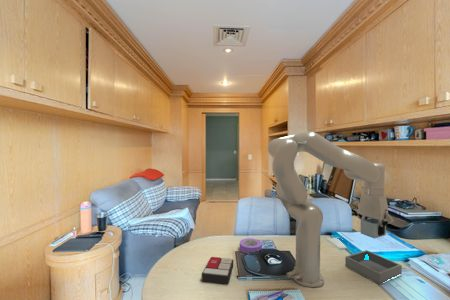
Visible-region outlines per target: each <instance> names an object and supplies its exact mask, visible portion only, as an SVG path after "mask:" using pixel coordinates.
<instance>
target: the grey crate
mask: <svg viewBox="0 0 450 300" xmlns="http://www.w3.org/2000/svg"><path fill="white" fill-rule="evenodd" d="M366 254H368V256H369V260H364V258H365V255H366ZM344 260H345V263H344V265H345V267H346V268H347V269H349V270H351V271H353V272H355V273H356V274H359V275H360V276H362V277H364V278H366V279H367V280H370V281H372V282H373V283H375V284H376V285H378V286H381V285H382V284H381V283H383V282H385V281H387V280H388V279H391V278H392V277H395V276H397V275H399V274H402V273H403V271H402V269H403V266H402V264H400V263H398V262H395V261H393V260H391V259H388V258H386V257H383V256H381V255H379V254H378V253H375V252H372V251H369V250H367V249H365V250H362V251H359V252H356V253H353V254H349V255H346V256H345V259H344ZM380 284H381V285H380ZM383 284H384V283H383Z"/></svg>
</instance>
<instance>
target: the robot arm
mask: <svg viewBox="0 0 450 300" xmlns="http://www.w3.org/2000/svg"><path fill="white" fill-rule="evenodd" d="M267 151H268V154H269V156H271V157H272V158H273V161H272V162H273V163H272V173H273V175H274V178H275V180H276V184H275V192H276V194H277V197H278V198H279V200H280V202H281V203H282V206H283V207H284V209H285V211H286V213H288V215H289V216H290V217H291V218H293V219H294V220H296V221H297V222H298V225H297V228H296V232H295V266H293V269H292V271H289V272H286V277H287V279H288V278H292V277H293V278H292V279H293V280H294V281H295V283H297V284H299V285H301V286H304V287H308V288H318V287H321V286H323V284H324V283H325V277H324V275H323V274H322V273H321V234H322V233H321V232H322V226H323V222H324V215H323V212H322V210H321V208H320V207H319V206H318V205H316V204H315V203H313V202H311V201H308V190H307V188H306V186H305V184H304V183H303V181H302V179H301V178H300V176H299V174H298V173H297V170H296V167H295V160H296V157H297V155H298V153H301V152H302V153H307V154H309V155H312V156H313V157H315V158H316V159H317V160H320V161H321V162H323V163H325V164H326V165H329V166H331V167H333V168H338V169H340V170H343V173H344V175H345V176H346V177H347V178H348V179H351V180H355V181H359V182H363V186H361V187H360V188H361V190H362V191H363V192H362V193H361V195H360V198H359V206H358V208H356V209H355V212H356V214H357V215H358V216H359V218H360V221H361V220H363V219H367V218H373V219H376V220H378V222H379V225H380V226H378V235H379V236H381V235H384V233H385V226H386V227H387V226H388V225H389V224H391V223H392V222H394V218H393V217H392V216H391V215H390V214H389V208H388V207H389V206H388V200H387V196H386V195H385V182H386V181H385V174H386V172H385V171H386V167H385V165H384V164H383V163H381V162H380V163H379V162H371V161H370V160H368V159H366V158H365V157H363V156H360V155H358V154H356V153H354V152H352V151H349V150H347V149H344V148H342V147H340V146H338V145H337V144H335V143H333V142H331V141H330V140H328V139H327V138H325V137H323V136H322V135H320V134H318V133H317V132H314V131H303V132H298V133H293V134H291V135H286V136H282V137H278V138H277V137H276V138H274V139H272V140H271V141H270V142H269V143H268V146H267Z"/></svg>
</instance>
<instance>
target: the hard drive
mask: <svg viewBox="0 0 450 300" xmlns="http://www.w3.org/2000/svg"><path fill="white" fill-rule="evenodd" d="M337 238H338V237H327V238H326V241H328V243H330V244H331V245H332V246H334V247H335V248H336V249H338V250H339V251H347V250H346V249H347V247H346V246H345V245H344V244H343V243H342V242H341V241H340V240H339V239H337Z"/></svg>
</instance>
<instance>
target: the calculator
mask: <svg viewBox="0 0 450 300" xmlns="http://www.w3.org/2000/svg"><path fill="white" fill-rule="evenodd" d="M233 268H234V259H233V258H230V257H229V258H228V257H227V258H226V257H217V256H211V257H210V258H209V259H208V261H207V263H206V265H205V267H204V269H203V270H202V273H201V282H202V283H204V284H205V283H207V284H216V285H222V286H223V285H224V286H228V285H229V283H230V280H231V276H232V272H233Z"/></svg>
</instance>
